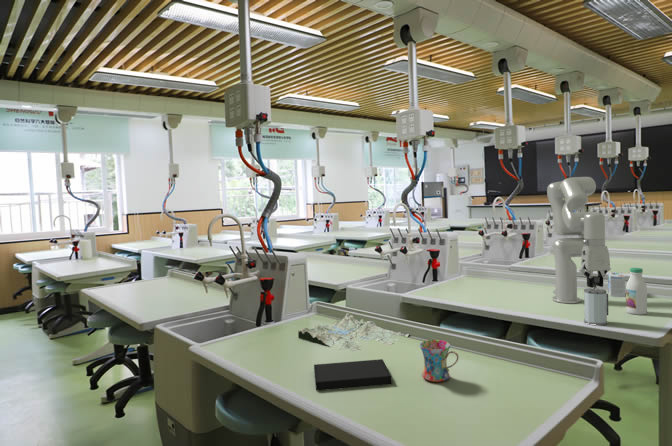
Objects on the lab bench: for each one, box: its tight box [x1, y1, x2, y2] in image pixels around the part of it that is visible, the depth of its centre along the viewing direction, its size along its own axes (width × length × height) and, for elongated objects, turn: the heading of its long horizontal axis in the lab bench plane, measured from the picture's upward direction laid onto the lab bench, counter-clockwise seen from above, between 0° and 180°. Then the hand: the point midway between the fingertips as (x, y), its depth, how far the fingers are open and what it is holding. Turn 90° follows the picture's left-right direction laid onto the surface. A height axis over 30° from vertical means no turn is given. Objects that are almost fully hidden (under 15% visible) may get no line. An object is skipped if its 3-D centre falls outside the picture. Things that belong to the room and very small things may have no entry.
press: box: [583, 287, 609, 326], centre depth 183 cm, size 8×9×14 cm
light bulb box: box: [607, 271, 626, 298], centre depth 228 cm, size 11×7×11 cm, turn 154°
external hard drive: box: [313, 359, 393, 392], centre depth 139 cm, size 14×23×3 cm, turn 95°
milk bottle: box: [625, 267, 648, 316], centre depth 194 cm, size 8×8×20 cm
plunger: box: [592, 275, 600, 291], centre depth 182 cm, size 6×6×15 cm
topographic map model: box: [297, 312, 411, 352], centre depth 179 cm, size 36×29×5 cm
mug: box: [419, 339, 460, 383], centre depth 135 cm, size 12×9×11 cm
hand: (595, 286), depth 182 cm, fingers closed on plunger, 3 cm apart
